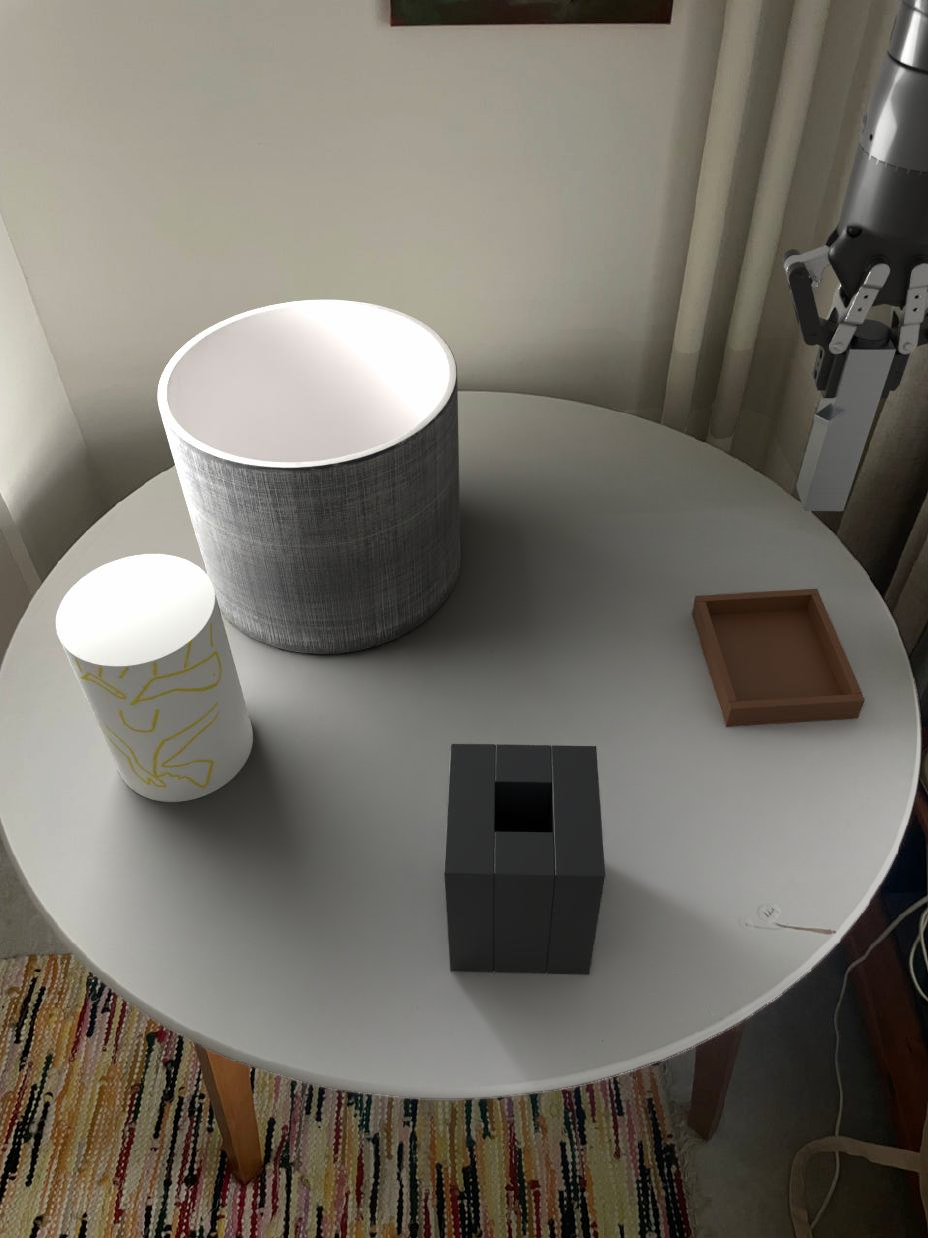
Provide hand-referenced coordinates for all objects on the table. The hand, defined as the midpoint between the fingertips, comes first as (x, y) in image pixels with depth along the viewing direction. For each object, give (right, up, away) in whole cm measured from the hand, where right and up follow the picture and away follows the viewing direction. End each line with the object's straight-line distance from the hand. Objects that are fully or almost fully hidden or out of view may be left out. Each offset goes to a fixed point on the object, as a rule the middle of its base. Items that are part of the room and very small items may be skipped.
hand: (852, 391), depth 72 cm
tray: (+1, -20, +21) cm, 29 cm away
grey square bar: (0, -7, +7) cm, 10 cm away
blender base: (-23, -38, +5) cm, 45 cm away
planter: (-40, -11, +32) cm, 52 cm away
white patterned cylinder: (-51, -27, +16) cm, 60 cm away
